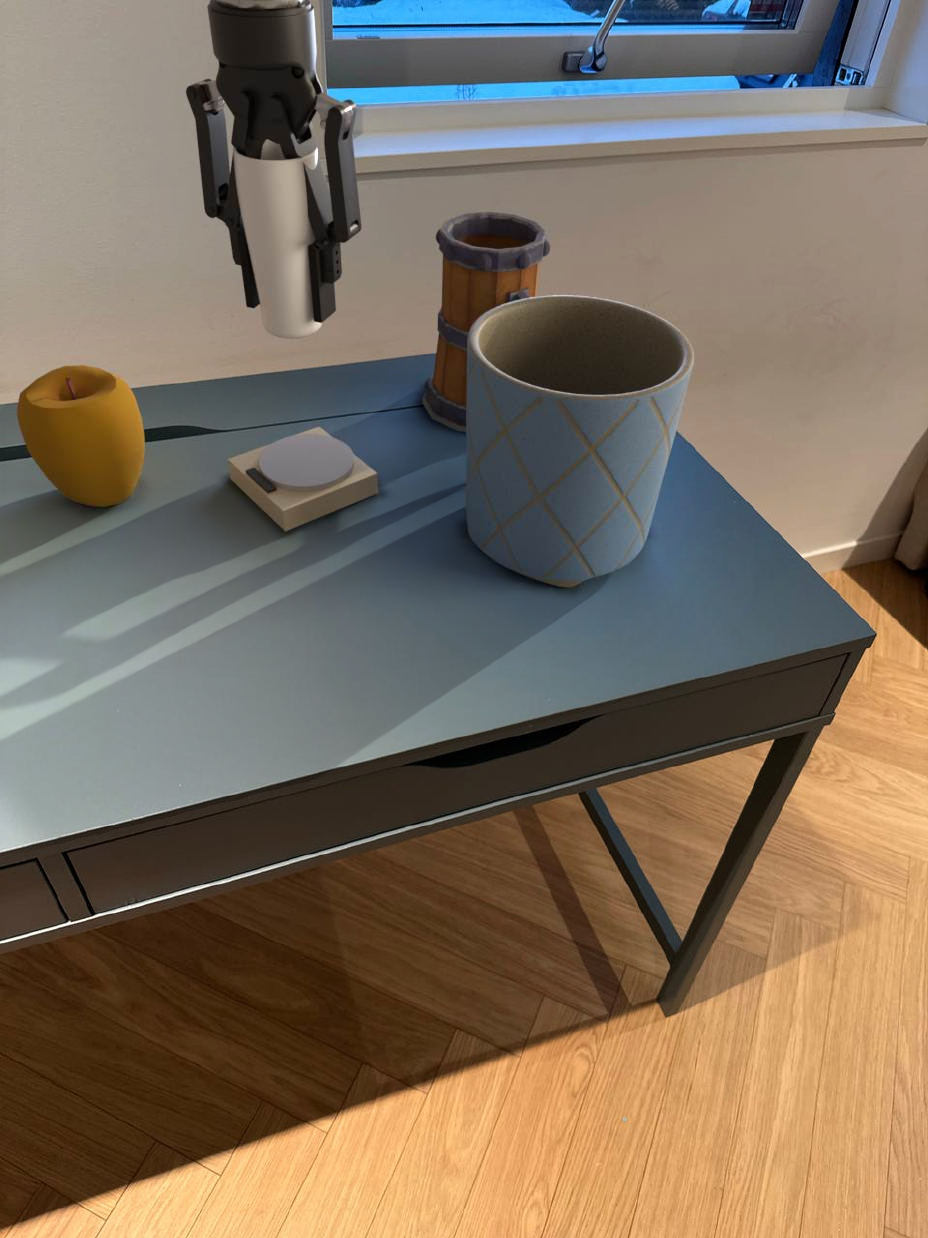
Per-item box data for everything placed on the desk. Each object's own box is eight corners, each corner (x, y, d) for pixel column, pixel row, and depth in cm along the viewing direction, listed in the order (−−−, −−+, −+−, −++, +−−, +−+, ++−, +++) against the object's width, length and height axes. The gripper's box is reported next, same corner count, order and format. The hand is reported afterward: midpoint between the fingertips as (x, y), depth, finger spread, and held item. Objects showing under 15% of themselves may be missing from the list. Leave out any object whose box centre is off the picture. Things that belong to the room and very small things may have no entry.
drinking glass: (346, 328, 82) (336, 149, 71) (287, 352, 78) (267, 167, 68) (298, 304, 85) (282, 129, 75) (239, 326, 81) (213, 145, 71)
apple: (42, 471, 94) (4, 356, 85) (150, 454, 97) (123, 341, 88) (47, 534, 86) (6, 415, 78) (164, 513, 89) (136, 396, 81)
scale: (285, 531, 88) (282, 505, 86) (230, 479, 94) (226, 453, 92) (378, 493, 93) (377, 467, 91) (320, 445, 99) (318, 421, 97)
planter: (572, 624, 80) (605, 426, 66) (419, 530, 89) (420, 339, 75) (688, 531, 90) (737, 344, 77) (540, 455, 100) (561, 276, 86)
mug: (595, 432, 104) (623, 257, 90) (493, 469, 97) (506, 287, 84) (496, 362, 115) (508, 197, 101) (399, 391, 109) (397, 219, 95)
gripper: (403, 2, 65) (406, 312, 81) (176, -25, 69) (221, 273, 85) (356, 20, 60) (369, 348, 75) (115, -10, 64) (175, 305, 80)
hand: (291, 308), depth 80 cm, fingers closed on drinking glass, 6 cm apart
